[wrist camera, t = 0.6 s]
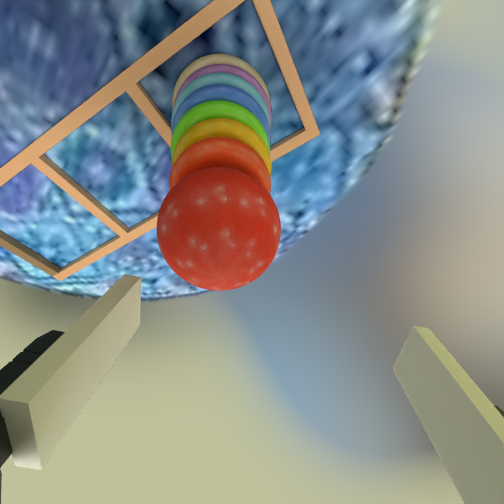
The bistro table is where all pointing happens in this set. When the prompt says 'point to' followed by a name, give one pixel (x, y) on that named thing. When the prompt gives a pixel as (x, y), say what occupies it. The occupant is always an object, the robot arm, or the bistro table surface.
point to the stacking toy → (219, 176)
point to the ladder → (129, 82)
